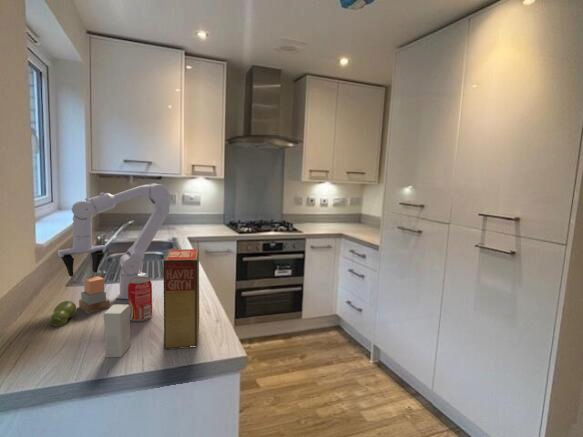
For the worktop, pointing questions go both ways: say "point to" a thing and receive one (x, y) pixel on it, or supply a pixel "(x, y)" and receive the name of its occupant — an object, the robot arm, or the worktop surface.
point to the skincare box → (117, 330)
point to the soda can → (140, 298)
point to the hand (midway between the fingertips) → (83, 273)
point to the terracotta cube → (94, 285)
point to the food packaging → (181, 298)
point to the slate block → (93, 297)
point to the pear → (62, 313)
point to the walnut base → (94, 306)
